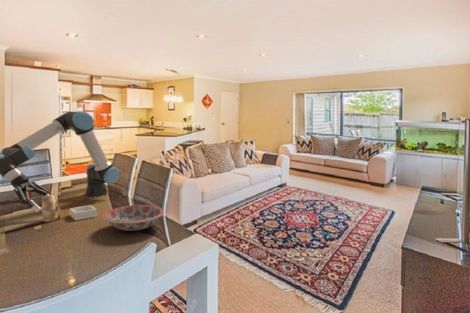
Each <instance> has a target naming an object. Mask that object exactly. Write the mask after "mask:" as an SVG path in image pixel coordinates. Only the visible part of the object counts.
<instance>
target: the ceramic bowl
mask: <svg viewBox="0 0 470 313" xmlns="http://www.w3.org/2000/svg"><path fill="white" fill-rule="evenodd" d="M164 214H165V212H164V209H163V208H161V207H159V206H157V205H149V204H148V205H146V204H137V205H136V204H135V205H125V206H120V207H116V208H112V209H110V210H108V211H106V212H104V213H103V220H105V221H107V222H108V223H109V224H110V225H111V226H112V227H114V228H115V229H117V230H120V231H124V232H135V231H141V230H146V229H148V228H149V227H152V226H153V225H154V224H155V223H157V221H158V220H159V219H160V217H162V216H163V215H164Z"/></svg>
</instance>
